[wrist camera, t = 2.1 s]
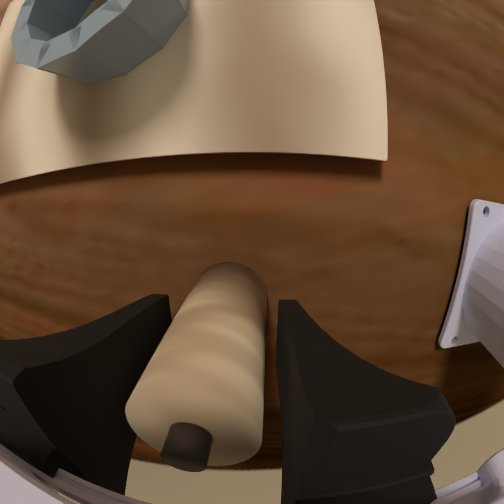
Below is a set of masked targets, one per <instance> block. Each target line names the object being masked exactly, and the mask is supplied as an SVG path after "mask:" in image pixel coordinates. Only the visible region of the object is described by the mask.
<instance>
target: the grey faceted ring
mask: <svg viewBox="0 0 504 504" xmlns="http://www.w3.org/2000/svg"><path fill="white" fill-rule="evenodd" d="M93 1H95V0H25V2H24V3H23V5H22V6H21V9H20V12H19V14H18V17H17V20H16V23H15V26H14V29H13V32H12V36H11V42H12V48H13V53H14V58H15V62H16V63H20V64H24V65H28V66H31V67H34V68H36V69H39V70H42V71H46V72H50V73H53V74H56V75H60V76H63V77H66V78H69V79H73V80H76V81H79V82H82V83H85V84H88V85H92V84H95V83H98V82H102V81H105V80H109V79H113V78H117V77H121V76H125V75H127V74H128V73H129V72H131V71H132V70H133V69H135V68H136V67H137V66H139V65H140V64H141V63H143V62H144V61H145V60H147V59H148V58H150V57H151V56H153V55H154V54H156V53H157V52H159V51H160V50H162V49H163V48H164V46H165V45H166V43H167V42H168V40H169V39H170V38H171V36H172V35H173V34H174V32H175V31H176V29H177V28H178V27H179V25H180V24H181V23H182V22H183V20H184V19H185V18H186V16H188V7H189V0H108V1H107V2H106V3H104V4H103V5H102V6H101V7H99V8H98V9H97V10H95V11H94V12H93V13H92V14H91V15H89V16H88V17H87V18H86V19H85V20H83V21H82V22H81V23H80V24H79V25H78V22H79V20H80V19H81V17H82V16H83V15H84V13H85V12H86V10H87V9H88V8H89V6H90V5H91V4H92V2H93ZM77 25H78V26H77Z"/></svg>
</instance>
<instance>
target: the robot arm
mask: <svg viewBox="0 0 504 504" xmlns="http://www.w3.org/2000/svg"><path fill="white" fill-rule="evenodd" d="M484 208H485V212H484V214H483V210H484ZM171 323H172V319H171V312H170V304H169V297H168V295H162V294H152V295H149V296H146V297H144V298H142V299H140V300H138V301H135V302H133V303H131V304H129V305H127V306H125V307H123V308H121V309H119V310H117V311H115V312H113V313H111V314H109V315H106V316H104V317H102V318H100V319H97V320H95V321H93V322H90V323H88V324H85V325H82V326H79V327H76V328H73V329H70V330H67V331H63V332H59V333H55V334H51V335H47V336H42V337H36V338H29V339H20V340H0V504H76V503H74V502H72V501H70V500H68V499H67V498H65V497H63V496H61V495H59V494H58V493H57V492H56V491H58V492H60V493H62V494H63V495H65V496H67V497H69V498H71V499H73V500H75V501H77V502H79V503H81V504H151V503H147V502H143V501H140V500H136V499H133V498H130V497H127V496H125V487H126V481H127V474H128V469H129V464H130V460H131V455H132V450H133V447H134V443H135V439H136V435H137V434H136V433H135V432H134V430H133V429H132V428H131V426H130V424H129V423H128V420H127V418H126V413H125V407H126V404H127V402H128V400H129V398H130V396H131V394H132V392H133V390H134V389H135V387H136V385H137V383H138V381H139V380H140V378H141V376H142V374H143V372H144V371H145V369H146V367H147V365H148V363H149V362H150V360H151V358H152V356H153V354H154V353H155V351H156V349H157V347H158V346H159V344H160V342H161V340H162V339H163V337H164V335H165V333H166V332H167V330H168V328H169V327H170V325H171ZM475 342H481V343H482V344H483V345H484V346H485V348H486V349H487V350H488V351H489V352H490V353H491V354H492V355H493V356H494V358H495V359H496V360H497V361H498V362H499V363H500V364H501V366H502V367H503V368H504V204H499V203H494V202H489V201H484V200H479V199H474V200H473V201H472V202H471V204H470V207H469V214H468V222H467V229H466V235H465V241H464V247H463V252H462V257H461V262H460V267H459V271H458V276H457V280H456V284H455V288H454V292H453V295H452V299H451V302H450V306H449V309H448V312H447V316H446V319H445V322H444V325H443V328H442V331H441V334H440V336H439V339H438V344H439V345H440V346H441V347H442V348H450V347H455V346H460V345H465V344H470V343H475ZM276 369H277V378H278V386H279V394H280V403H281V411H282V423H283V454H282V494H281V504H504V448H503V449H502V450H500V451H498V452H497V453H495V454H494V455H493V456H491V457H490V458H489V459H488V460H487V461H486V462H485V463H484V464H483V465H482V466H481V467H480V468H479V469H478V471H476V472H475V473H473V474H471V475H468V476H466V477H464V478H463V479H460V480H458V481H456V482H453V483H451V484H449V485H446V486H444V487H441V488H439V489H437V490H434V487H433V484H432V481H431V478H430V475H432V474H433V473H434V467H433V464H432V462H431V460H432V458H433V457H434V456H435V454H437V452H438V451H439V450H440V449H441V447H442V446H443V445H444V444H445V442H446V441H447V440H448V438H449V437H450V435H451V433H452V431H453V429H454V426H455V423H456V418H455V414H454V412H453V411H452V409H451V407H450V405H449V404H448V402H447V400H446V399H445V397H444V395H443V394H442V392H441V391H440V389H439V388H436V387H432V386H429V385H425V384H421V383H418V382H414V381H411V380H407V379H404V378H402V377H399V376H397V375H394V374H392V373H389V372H387V371H385V370H382V369H380V368H378V367H376V366H374V365H372V364H370V363H369V362H367V361H365V360H363V359H361V358H360V357H358V356H356V355H355V354H353V353H352V352H350V351H349V350H347V349H346V348H344V347H343V346H342V345H340V344H339V343H338V342H336V341H335V340H334V339H333V338H332V337H330V336H329V335H328V334H327V333H326V332H325V331H324V330H323V329H322V328H320V327H319V325H318V324H317V323H316V322H315V321H314V320H313V319H312V318H311V317H310V316H309V315H308V314H307V312H306V311H305V310H304V309H303V308H302V306H301V305H300V304H299V303H298V302H297V301H296V300H279V308H278V326H277V342H276ZM48 486H49V487H48ZM50 487H51V488H52V489H51V488H50ZM53 489H54V490H56V491H54V490H53Z"/></svg>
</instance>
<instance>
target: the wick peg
mask: <svg viewBox="0 0 504 504" xmlns="http://www.w3.org/2000/svg"><path fill="white" fill-rule="evenodd" d="M266 321H267V292H266V288H265V285H264V283H263V281H262V280H261V278H260V277H259V276H258V275H257V274H256V273H255V272H254V271H253V270H251V269H249V268H248V267H246V266H244V265H241V264H237V263H230V262H226V263H219V264H215V265H213V266H211V267H209V268H207V269H206V270H205V271H204V272H202V274H201V275H200V276H199V278H198V279H197V281H196V282H195V284H194V286H193V287H192V289H191V291H190V293H189V294H188V296H187V298H186V299H185V301H184V303H183V304H182V306H181V308H180V309H179V311H178V313H177V314H176V316H175V318H174V320H173V321H172V323H171V325H170V327H169V328H168V330H167V332H166V333H165V335H164V337H163V339H162V340H161V342H160V344H159V346H158V347H157V349H156V351H155V353H154V354H153V356H152V358H151V360H150V362H149V363H148V365H147V367H146V369H145V371H144V372H143V374H142V376H141V378H140V380H139V381H138V383H137V385H136V387H135V389H134V390H133V392H132V394H131V396H130V398H129V400H128V402H127V404H126V407H125V413H126V418H127V420H128V423H129V424H130V426H131V428H132V429H133V430H134V432H135V433H136V434H137V435H138V436H139V437H140V438H141V439H142V440H143V441H144V442H146V443H147V444H148V445H150V446H151V447H153V448H154V449H156V450H158V451H159V452H161V458H162V459H163V460H164V461H165V462H166V463H167V464H169V465H171V466H173V467H175V468H177V469H180V470H184V471H189V472H200V471H203V470H205V469H206V468H207V466H226V465H232V464H237V463H240V462H243V461H245V460H248V459H249V458H251V457H252V456H254V455H255V454H256V453H257V452H258V450H259V449H260V447H261V444H262V430H263V408H264V383H265V354H266Z"/></svg>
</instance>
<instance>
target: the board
mask: <svg viewBox="0 0 504 504" xmlns="http://www.w3.org/2000/svg"><path fill="white" fill-rule="evenodd" d="M107 1H108V0H95V1H93V2H92V4H91V5H90V6H89V8H88V9H87V10H86V12H85V13H84V15H83V16H82V17H81V19H80V20H79V22H78V25H79V24H80V23H81V22H82V21H83V20H85V19H86V18H87V17H88V16H89V15H91V14H92V13H93V12H94V11H95V10H97V9H98V8H99V7H101V6H102V5H103V4H104V3H106V2H107ZM24 2H25V0H14V1H12V2H11V3H10V4H9V5H8V8H7V10H6V13H5V16H4V18H3V21H2V24H1V27H0V184H3V183H6V182H10V181H14V180H18V179H22V178H26V177H31V176H35V175H39V174H44V173H49V172H54V171H59V170H64V169H69V168H75V167H81V166H87V165H93V164H100V163H107V162H115V161H122V160H131V159H140V158H150V157H162V156H175V155H191V154H214V153H286V154H309V155H325V156H338V157H350V158H360V159H369V160H378V161H387V101H386V85H385V73H384V63H383V54H382V46H381V39H380V32H379V26H378V20H377V15H376V9H375V4H374V0H189V7H188V16H186V18H185V19H184V20H183V22H182V23H181V24H180V25H179V27H178V28H177V29H176V31H175V32H174V34H173V35H172V36H171V38H170V39H169V40H168V42H167V43H166V45H165V46H164V48H163V49H162V50H160V51H159V52H157V53H156V54H154V55H153V56H151V57H150V58H148V59H147V60H145V61H144V62H143V63H141V64H140V65H139V66H137V67H136V68H135V69H133V70H132V71H131V72H129V73H128V74H127V75H125V76H121V77H117V78H113V79H109V80H105V81H102V82H98V83H95V84H92V85H88V84H85V83H82V82H79V81H76V80H73V79H69V78H66V77H63V76H60V75H56V74H53V73H50V72H46V71H42V70H39V69H36V68H34V67H31V66H28V65H24V64H20V63H16V62H15V58H14V53H13V48H12V42H11V36H12V32H13V29H14V26H15V23H16V20H17V17H18V14H19V12H20V9H21V6H22V5H23V3H24ZM78 25H77V26H78Z"/></svg>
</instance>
